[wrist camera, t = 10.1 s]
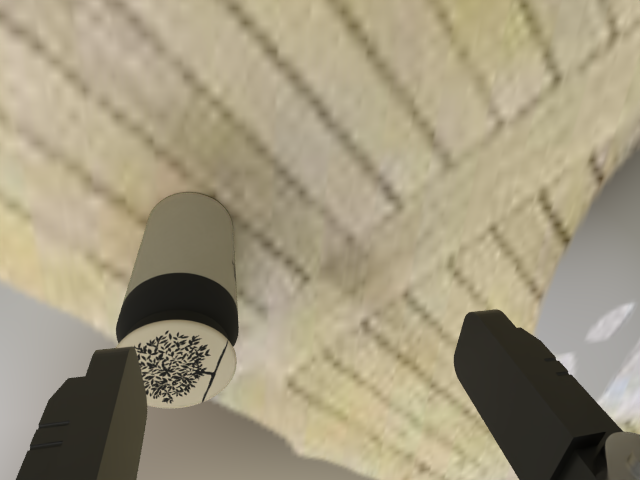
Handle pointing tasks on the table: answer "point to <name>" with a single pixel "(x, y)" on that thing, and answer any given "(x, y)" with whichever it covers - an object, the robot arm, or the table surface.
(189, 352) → the travel mug
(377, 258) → the table surface
